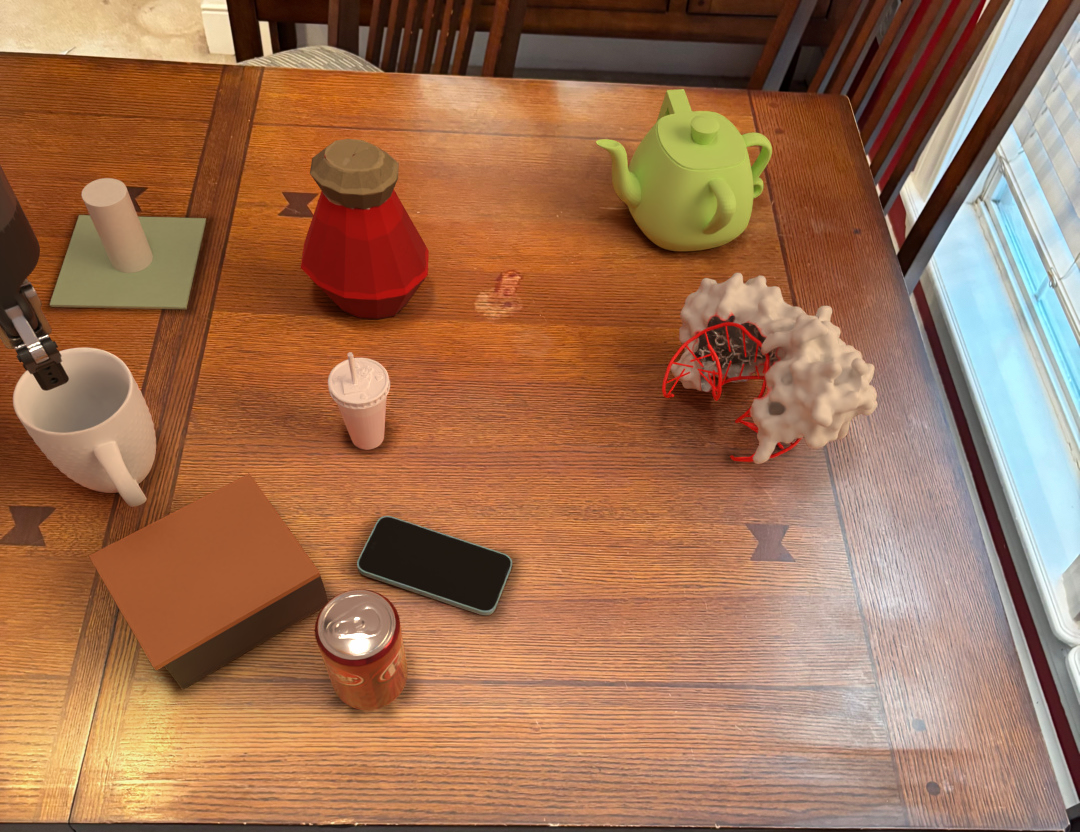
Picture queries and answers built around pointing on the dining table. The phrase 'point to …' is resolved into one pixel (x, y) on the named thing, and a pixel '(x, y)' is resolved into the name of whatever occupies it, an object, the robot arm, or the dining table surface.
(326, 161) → the bottle
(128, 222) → the white cylinder
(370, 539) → the smartphone
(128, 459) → the mug
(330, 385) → the smoothie
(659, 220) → the teapot
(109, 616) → the dining table surface
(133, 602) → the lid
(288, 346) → the dining table surface
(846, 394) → the protein dna model
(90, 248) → the mat
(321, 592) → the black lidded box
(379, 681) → the soda can
